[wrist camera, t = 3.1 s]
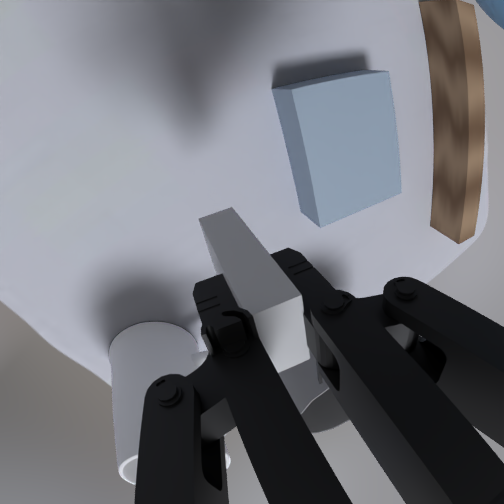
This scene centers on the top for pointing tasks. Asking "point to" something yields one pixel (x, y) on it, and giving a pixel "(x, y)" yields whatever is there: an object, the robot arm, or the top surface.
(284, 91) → the block
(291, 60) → the top surface
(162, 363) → the mug
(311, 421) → the cup
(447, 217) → the brown wooden bar
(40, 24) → the top surface
